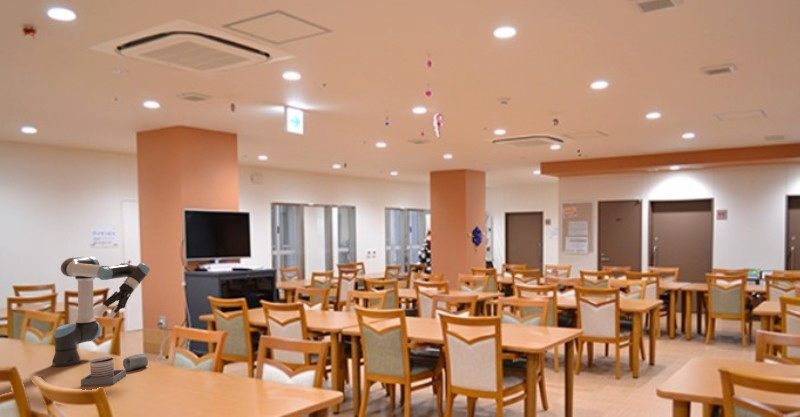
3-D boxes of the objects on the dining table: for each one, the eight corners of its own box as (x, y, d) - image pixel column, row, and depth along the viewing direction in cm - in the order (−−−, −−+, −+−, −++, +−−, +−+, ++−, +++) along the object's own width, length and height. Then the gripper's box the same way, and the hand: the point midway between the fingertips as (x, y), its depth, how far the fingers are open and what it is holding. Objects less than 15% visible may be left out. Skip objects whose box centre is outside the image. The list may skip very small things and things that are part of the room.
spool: (125, 367, 329) (126, 350, 334) (119, 372, 335) (121, 356, 340) (150, 368, 338) (151, 352, 343) (144, 373, 344) (144, 357, 349)
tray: (95, 377, 324) (95, 371, 324) (126, 375, 325) (125, 369, 325) (81, 386, 307) (80, 379, 307) (113, 384, 308) (113, 377, 308)
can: (96, 384, 307) (96, 361, 307) (86, 381, 314) (86, 359, 314) (118, 379, 316) (117, 357, 316) (108, 376, 323) (107, 354, 323)
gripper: (144, 291, 338) (120, 321, 325) (122, 289, 352) (98, 318, 340) (135, 283, 333) (110, 313, 321) (113, 281, 348) (88, 310, 336)
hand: (104, 316), depth 331 cm, fingers open, 13 cm apart
